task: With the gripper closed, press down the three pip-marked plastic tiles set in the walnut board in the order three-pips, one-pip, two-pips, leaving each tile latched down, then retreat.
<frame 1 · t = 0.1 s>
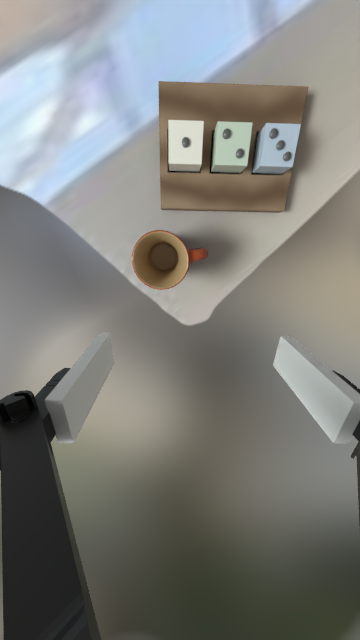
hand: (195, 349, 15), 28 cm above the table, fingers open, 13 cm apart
board: (225, 157, 33), on the table
tile one: (185, 147, 29), point 4 cm above the table, slide at 0.0 cm
tile three: (275, 150, 30), point 4 cm above the table, slide at 0.0 cm
mug: (172, 255, 39), on the table
tile two: (230, 148, 30), point 4 cm above the table, slide at 0.0 cm
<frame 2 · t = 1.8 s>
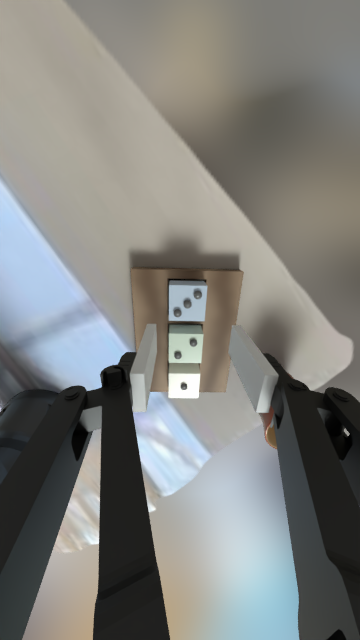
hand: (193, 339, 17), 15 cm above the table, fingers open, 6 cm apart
board: (184, 333, 33), on the table
tile one: (183, 380, 32), point 4 cm above the table, slide at 0.0 cm
tile three: (186, 300, 27), point 4 cm above the table, slide at 0.0 cm
mug: (265, 376, 37), on the table
tile two: (185, 344, 30), point 4 cm above the table, slide at 0.0 cm
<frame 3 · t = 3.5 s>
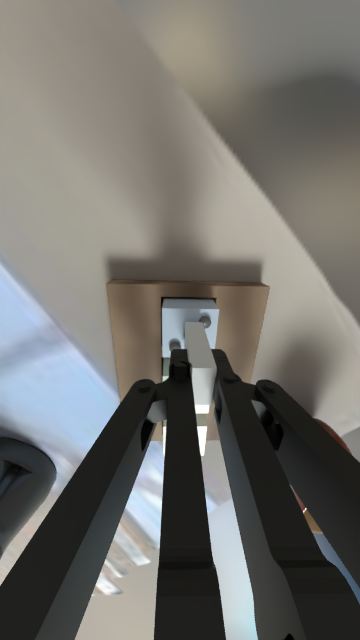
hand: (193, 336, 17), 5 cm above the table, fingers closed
board: (184, 366, 25), on the table
tile one: (183, 430, 24), point 4 cm above the table, slide at 0.0 cm
tile three: (188, 327, 19), point 3 cm above the table, slide at 0.3 cm, touching gripper
mug: (288, 416, 29), on the table
tile two: (185, 386, 21), point 4 cm above the table, slide at 0.0 cm
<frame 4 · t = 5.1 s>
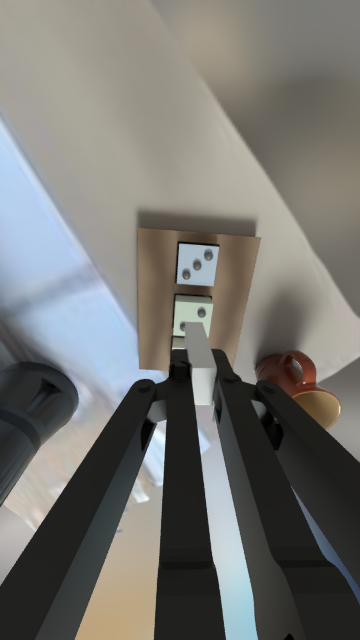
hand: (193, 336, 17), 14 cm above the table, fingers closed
board: (190, 308, 31), on the table
tile one: (187, 357, 30), point 4 cm above the table, slide at 0.0 cm
tile three: (196, 264, 26), point 2 cm above the table, slide at 1.6 cm
mug: (273, 360, 35), on the table
tile two: (192, 316, 27), point 4 cm above the table, slide at 0.0 cm
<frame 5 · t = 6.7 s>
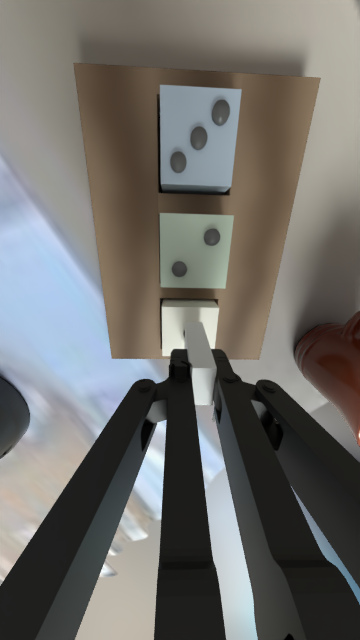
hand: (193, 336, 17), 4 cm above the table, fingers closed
board: (189, 250, 18), on the table
tile one: (188, 326, 19), point 2 cm above the table, slide at 1.3 cm, touching gripper
tile three: (196, 149, 14), point 2 cm above the table, slide at 1.6 cm
mug: (321, 334, 23), on the table
tile two: (193, 252, 15), point 4 cm above the table, slide at 0.0 cm
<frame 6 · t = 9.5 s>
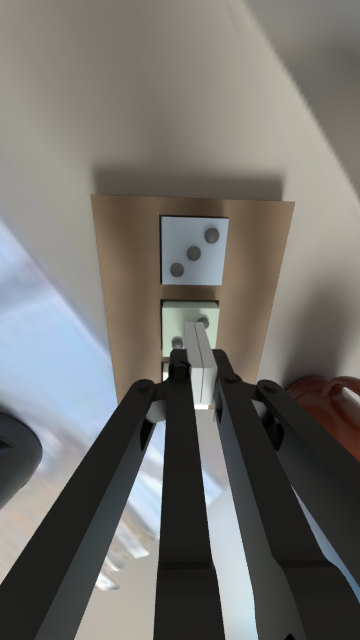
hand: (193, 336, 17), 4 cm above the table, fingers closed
board: (187, 319, 21), on the table
tile one: (185, 382, 22), point 2 cm above the table, slide at 1.6 cm
tile three: (192, 252, 17), point 2 cm above the table, slide at 1.6 cm
mug: (306, 383, 25), on the table
tile two: (188, 327, 19), point 2 cm above the table, slide at 1.4 cm, touching gripper
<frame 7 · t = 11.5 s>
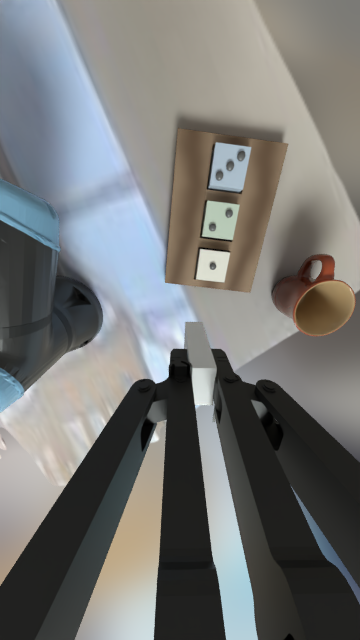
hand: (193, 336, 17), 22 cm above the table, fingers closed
board: (217, 222, 33), on the table
tile one: (211, 265, 34), point 2 cm above the table, slide at 1.6 cm
tile three: (227, 170, 29), point 2 cm above the table, slide at 1.6 cm
mug: (289, 284, 37), on the table
tile two: (218, 221, 32), point 2 cm above the table, slide at 1.7 cm
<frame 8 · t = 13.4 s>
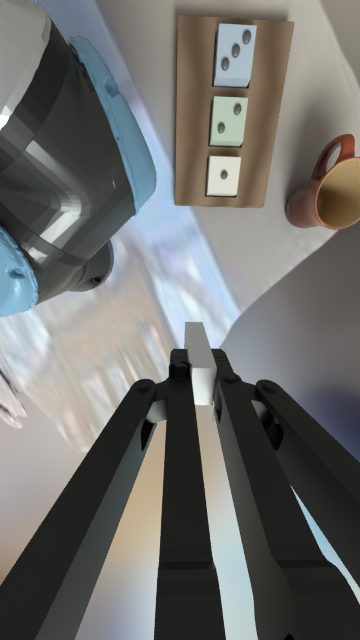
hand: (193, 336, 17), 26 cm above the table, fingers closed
board: (224, 131, 32), on the table
tile one: (222, 178, 33), point 2 cm above the table, slide at 1.6 cm
tile three: (232, 61, 28), point 2 cm above the table, slide at 1.6 cm
mug: (302, 197, 36), on the table
tile two: (226, 125, 30), point 2 cm above the table, slide at 1.7 cm
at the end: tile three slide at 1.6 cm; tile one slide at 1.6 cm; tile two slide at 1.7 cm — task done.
